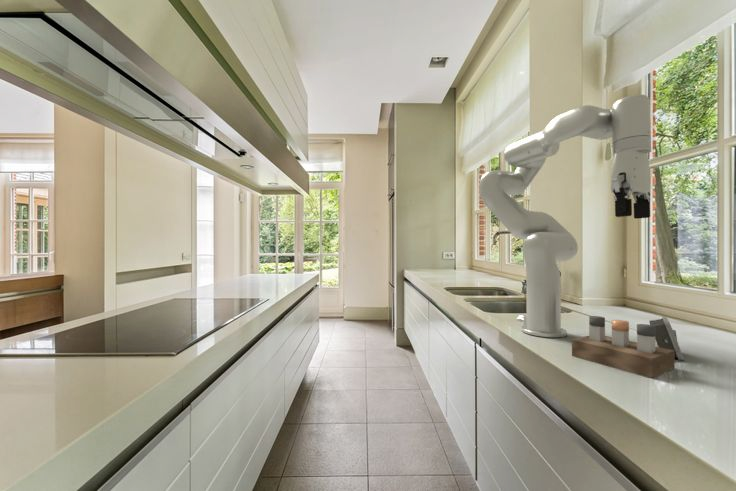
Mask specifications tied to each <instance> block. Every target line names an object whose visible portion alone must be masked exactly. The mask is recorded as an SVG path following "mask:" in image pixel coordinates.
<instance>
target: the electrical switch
mask: <svg viewBox="0 0 736 491" xmlns="http://www.w3.org/2000/svg"><path fill="white" fill-rule="evenodd" d="M648 322H649V325H653V326H655V327H656V336H655V343H656V344H657V347H661V348H665V349H670V350H675V358H677V359H678V361H684V357H683V354H682V351H681V348H680V346H679V341H678V336H677V331H676V329H673V327H672V325H671V322H670V321H669V318H668V317H667V315H661V318H660V319H653V320H649V321H648Z"/></svg>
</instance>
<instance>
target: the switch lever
mask: <svg viewBox="0 0 736 491" xmlns="http://www.w3.org/2000/svg"><path fill="white" fill-rule="evenodd" d="M588 317H589V318H588V320H589V321H588V322H589V323H588V324H589V325H588V330H589V331H588V334H589V335H588V336H589V339H590V340H595V341H599V342H602V341H605V336H606V318H605V317H604V316H600V315H599V316H598V315H589V316H588Z"/></svg>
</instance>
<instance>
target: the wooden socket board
mask: <svg viewBox="0 0 736 491" xmlns="http://www.w3.org/2000/svg"><path fill="white" fill-rule="evenodd" d="M571 356H572V357H575V358H578V359H583V360H585V361H589V362H593V363H595V364H599V365H604V366H607V367H610V368H614V369H618V370H622V371H625V372H628V373H632V374H635V373H636V375H640V376H642V375H643V376H642V377H646V376H647V377H646V378H649V379H653V378H655V377H657V376H661V375H663V374H664V372H665V373H667V372H670V371H672V370H674V369H675V359H676V357H675V350H670V349H665V348H661V347H658V346H656V345H655V352H654V353H652V354H651V353H647V352H643V351H638V350H637V341H632V340H629V346H627V347H621V346H616V345H612V336H608V335H605V341H602V342H599V341H595V340H590V339H589V335H585V336H581V337H577V338H572V339H571ZM662 373H663V374H662Z"/></svg>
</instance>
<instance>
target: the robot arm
mask: <svg viewBox="0 0 736 491" xmlns="http://www.w3.org/2000/svg"><path fill="white" fill-rule="evenodd" d="M650 100H651V99H650V97H648V95H646V94H631V95H628V96H625V97H622V98H619V99H617V100H616V101H615V102H613V104H612V106H611V108H602V107H599V106H595V105H590V104H589V105H587V104H586V105H581V106H577V107H575V108H572V109H570V110H568V111H565V112H562V113H560V114H559V115H557V116H555V117H553V118H552V119H551V120H550V121H549V122H548V123H547V124H546V125H545V127H544V128H543V129H541V130H540V131H537V132H535V133H532V134H531V135H528V136H525V137H523V138H521V139H518V140H516V141H514V142H511V143H510V144H508V146H507V147H506V148H505V149H504V152H503V158H504V159H503V160H504V161H505V163H507V164H508V165H509V166H512V167H515V170H514V171H508V170H502V169H499V170H498V169H495V170H490V171H487V172H485V173H484V174H483V175H481V178H480V180H479V184H478V191H479V196H480V200H481V201H482V202H483V204H484V205H485V207H486V208H487V209H488V210H489V211H490V212H491V213H492V214H493V215H494V216H495V217H496V218H497V219H498V220H499V222H500V223H501V224H502V225H503V226H504V227H505V228H506V229H507V231H508V232H509V233H510V234H511V236H513V237H514V238H516V239H521V240H524V241H523V244H522V252H523V257H524V258H523V259H524V263H525V274H526V276H525V277H526V278H525V279H526V281H525V282H526V284H525V285H526V315H525V314H524V315H523V314H519V315H518V317H517V318H516V321H517V322H521V323H523V325H521V327H520V328H521V329H520V330H521V331H522V332H523V333H525V334H527V335H531V336H536V337H543V338H563V337H566V336H567V333H568V331H567V330H566V329H564V328H563V327H562V314H561V313H562V305H561V304H562V302H561V301H562V297H561V296H562V295H561V294H562V292H561V291H562V290H561V286H562V284H561V283H562V282H561V272H560V268H559V267H558V264H557V262H567V261H569V260H572V259H573V258H574V257H575V256H576V255H577V253H578V249H579V246H578V245H579V244H578V241H577V240H576V238H575V236H574V235H573V234H572V233H570V232H569V230H568V229H566V228H565V227H564V226H563V225H562V224H561V223H560V222H559V221H558V220H556V218H554V217H553V216H552V215H550V214H549V213H546V212H543V211H533V210H528V209H526V208H525V207H524V206H522V205H521V204H520V202H518V200H516V198H514V197H512V196H518V195H521V194H522V193H524V192H525V191H526V190H527V188H528V187H529V186H530V185H531V183H532V181H533V180H534V179H535V177H537V175H538V173H539V172H540V170H542V168H543V166H544V164H545V162H546V160H547V158H549V157H553V156H555V155H556V154H557V153H558V152H559V150H560V145H561V143H562V142H564V141H566V140H569V139H571V138H574V137H578V136H579V137H585V138H590V139H593V140H594V139H595V140H600V141H603V140H608V139H611V142H612V144H611V147H612V152H611V153H612V162H611V168H610V169H611V171H610V172H611V174H610V191H611V193H613V194H614V196H613V199H614V210H615V211H614V213H615V217H616V218H623V217H631V216H633V218H634V219H648V218H650V217H651V197H650V196H651V172H650V171H651V168H650V160H649V153H652V133H651V132H652V130H651V128H652V126H651V102H650ZM631 196H633V199H634V202H633V204H632V198H630V197H631ZM632 206H633V207H632ZM632 208H633V209H632Z"/></svg>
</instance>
